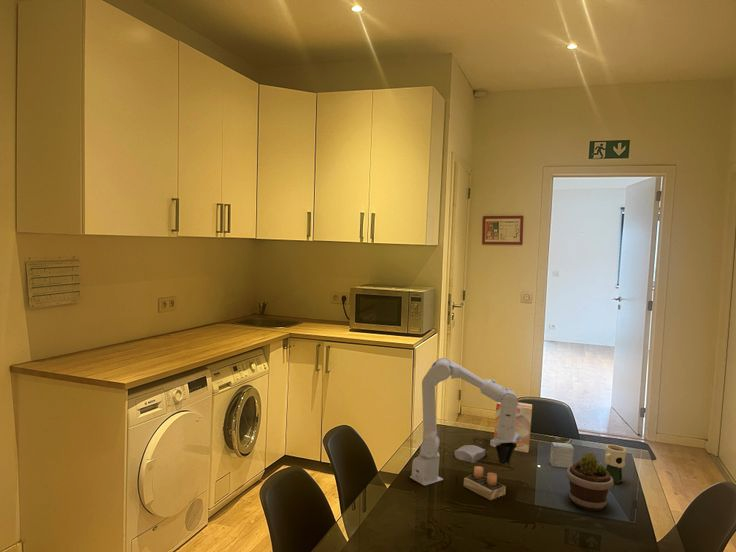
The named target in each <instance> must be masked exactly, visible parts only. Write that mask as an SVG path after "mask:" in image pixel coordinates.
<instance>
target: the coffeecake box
mask: <svg viewBox="0 0 736 552" xmlns="http://www.w3.org/2000/svg"><path fill="white" fill-rule="evenodd" d="M495 408H496V409H495V419H494V431H493V433H494V434H493V438H495V437H496V436H497V435H498V425H499V412H500V409H501V403H500V402H496V407H495ZM532 413H533V404H531V403H526V402H519V401H518V406H517V407H516V424H515V433H517V434H520V435H521V439H520V440H517V442H516V444H517V446H516V448H515V449H514V451H515V452H516V451H517V452H521V453H529V451H530V450H529V449H530V441H531V440H530V439H531V428H532V416H533V414H532Z"/></svg>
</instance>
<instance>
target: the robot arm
mask: <svg viewBox="0 0 736 552" xmlns="http://www.w3.org/2000/svg"><path fill="white" fill-rule="evenodd" d="M450 377H451V378H450ZM449 378H450V379H451V380H453V379H454V380H455V379H461V380H464V381H465V382H467V383H469V384H470V385H473V386H475V387H476V388H479V391H480V393H481V394H482V395H484V396H485V397H487V398H490V399H491V400H493V401H495V402H496V403H497V402H500V403H501V409H500V412H499V425H498V435H497V436H496V437H495V438H494V437H493V438H492V439H490V440H489V442H490V443H489V446H491V447H493V448H495V450H496V452H497V456H498V463H499V464H502V465H506V464H509V462H510V460H511V457H512V455H513V452H514V451H515V450H514V449H515V448H516V446H517V444H516V442H517V440H520V439H521V435H520V434H517V433H515V424H516V407H517V406H518V402H519V401H518V396H517V394H516V392H514V391H513V390H512V389H510V388H508V387H507V386H505V387H503V386H502V385H500V384H498V383H497V381H496V379H494V378H492V379H490V378H487V379H483V378H481V377H479V376H478V375H476V374H475V373H473V372H472V371H469V370H468V369H467V368H465V367H463V366H462V365H460V364H458V363H457V362H454V361H451V360H450V359H448V358H447V357H441V358H438V359H437V360H436V361H434V362H433V363H432V365H430V368H429V369H428V370H427V372H426V373H425V375H424V376H423V378H422V380H421V394H422V395H421V396H422V402H421V403H422V428H423V430H422V442H421V445H420V447H419V450H420V451H419V454H418V456H416V457H415V458H413V460H412V465H411V475H410V476H409V478H410V479H412V480H413V481H416V482H417V483H419V484H421V485H423V486H429V485H432V484H435V483H439V482H441V481H443V480H444V478H443V477H441V476H439V470H440V469H439V467H440V456H441V455H440V452H439V446H440V444H441V439H440V438H439V435H438V429H437V415H436V414H437V412H436V411H437V409H436V408H437V407H436V386H437V385H438V384H439V383H441V382H443V381H445V380H448V379H449Z"/></svg>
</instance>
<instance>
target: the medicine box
mask: <svg viewBox="0 0 736 552" xmlns="http://www.w3.org/2000/svg"><path fill="white" fill-rule="evenodd" d="M550 444H551V445H550V455H549V463H550V464H551V466H552V467H554V468H555V467H556V468H565V469H568V468H569V467H571V466H573V463H574V453H575V451H574V449H575V448H574V446H573V445H572V444H571V443H566V442H554V441H553V442H550Z"/></svg>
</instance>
